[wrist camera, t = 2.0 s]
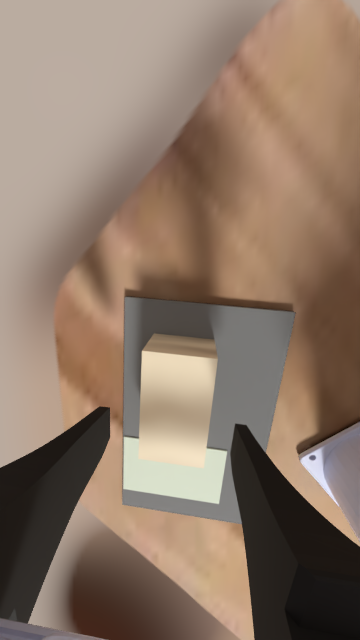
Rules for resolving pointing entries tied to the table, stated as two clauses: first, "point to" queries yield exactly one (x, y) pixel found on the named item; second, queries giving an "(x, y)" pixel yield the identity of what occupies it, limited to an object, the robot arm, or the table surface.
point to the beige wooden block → (176, 399)
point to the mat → (227, 406)
